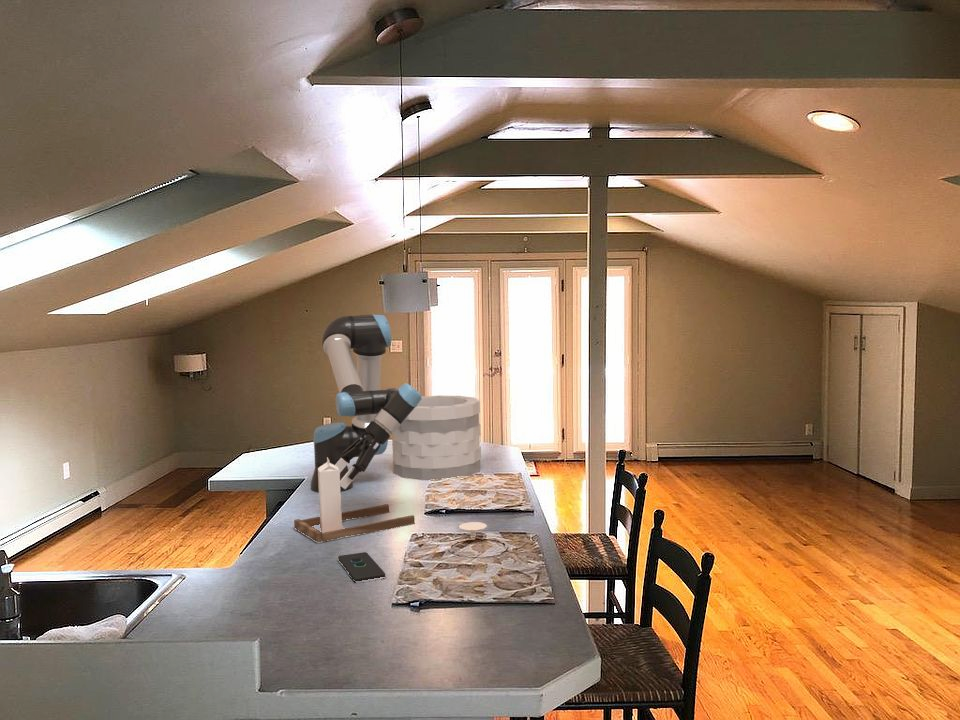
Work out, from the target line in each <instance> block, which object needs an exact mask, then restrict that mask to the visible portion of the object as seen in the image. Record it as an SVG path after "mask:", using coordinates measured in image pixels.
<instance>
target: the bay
mask: <svg viewBox="0 0 960 720" xmlns="http://www.w3.org/2000/svg"><path fill="white" fill-rule="evenodd" d="M386 513H387V514H388V513H390V504H388V503H386V504H385V503H384V504H379V505H374V506H369V507H363V508H359V509H353V510H348V511H343V512H342V511H341V515H342V520H346V519H352V518H357V519H360V518H359V517H362V518H366V517H365V516H367V517H371V516H376V515H382V514H383V515H384V514H386ZM415 519H416V518H415V515H414V514H411V515H407V516H406V515H405V516H401V517H396V518H391V519H386V520H380V521H376V522H371V523H367V524H366V523H365V524H361V525H356V526H352V527H348V528H345V529H340V530H335V531H330V532H325V533H322V532H320V531H319V530H317V529H315V528H314V527H312V526H314V525H319V524H320V516H315V517H311V518H310V517H309V518H305V519H299V518H297V519H293V525H294V526H293V527H294V528H296V529H297V530H299V531H300V532H302V533H304V534H305V535H307V536H309V537H310V538H312V539H313V540H315V541H317V542H321V541H327V540H331V539H337V538H340V537H345V536H351V535H357V534H363V533H367V534H371V533H370V532H372V533H376V532H375V531H377V532H381V531H380V530H382V531H387V530H390V529H391V528H392V529H396V527H397V528H401V527H400V526H402V527H406V526H412V525H415V524H416V523H415ZM352 520H353V519H352ZM346 521H347V520H346ZM386 529H387V530H386ZM392 529H391V530H392ZM300 532H299V533H300ZM305 535H304V536H305ZM363 535H364V534H363ZM313 540H312V541H313Z"/></svg>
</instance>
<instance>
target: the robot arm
mask: <svg viewBox="0 0 960 720" xmlns="http://www.w3.org/2000/svg"><path fill="white" fill-rule="evenodd" d="M390 327H391V326H390V323H389V321H388V318H387V317H386V316H385V315H382V314H374V313H371V314H360V315H359V314H357V315H355V314H354V315H340V316H339V317H338V316H337V317H336V318H334V319H333V320H331V321H330V322H329V323H328V324H327V326H326V327H325V328H324V330H323V333H322V336H321V346H322V349H323V352H324V354H326V355H327V356H328V359H329V362H330V366H331V369H332V372H333V376H334V379H335V383H336V385H337V390H338V393H337V394H336V396H335V407H336V408H335V409H336V413H337V415H338V416H339V417H350V418H351V417H353V418H352V419H351V425H346V423H345V422H343V421H342V422H341V421H340V422H339V421H338V422H331V423H325V424H323V425H319V426H318V427H316V428H315V429H314V431H313V447H314V448H313V450H314V451H313V452H314V470H313V474H312V477H311V481H310V489H311V490H312V491H313V492H318V493H319V484H318V468H319V467H320V466H322V465H323V464H325V463H326V462H327V457H328V459H329V463H331V464H333V465H335V466H337V467H338V469H339V470H340V482H339V483H338V484H339V485H340V491H341V492H342V491H346V490H347V491H348V490H350V489H352V488H353V487H354V479H356V478H357V476H358V475H359V474H360V473H361V472H363V473H364V472H365V471H366V470H367V468H368V466H369V465H370V464H371V461H372V459H373V458H374V457H375V456H378V455H379V456H380V455H382V454H383V453H385V451H386V450H387V447H388V443H389V439H390V438H391V435H392V434H393V433H394V431H395V430H398V429H399V428H398V427H399V426H400V424H401V423H402V422H403V421H404V420H405V419H406V417H407V416H408V415H409V414H410V413H411V412H412V410H413V409H414V408H415V407H417V405H418V403H419V402H420V401H421V399H422V394H421V393H420V392H419V391H418V390H417V389H415V388H414V387H413V386H412V385H410V384H409V383H407V382H405V383H403V384H401V386H400V387H399V388H395V387H393V388H386V389H381V381H382V379H381V378H382V376H381V375H382V357H383V356H385V354H386V352H387V351H386V349H387V348H389V347H391V345H392V333H391V328H390ZM351 350H352V352H353V354H354V355H355V356H357V357H356V358H357V359H356V364H355V361H354V358H353V357H354V356H353V354H352V352H351ZM354 458H357V460H356V462H355V463H353V464H352V466H351V467H350V468H349V466H348V465H349V464H350V463H351V460H352V459H354Z"/></svg>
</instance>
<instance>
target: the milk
mask: <svg viewBox="0 0 960 720" xmlns="http://www.w3.org/2000/svg"><path fill="white" fill-rule="evenodd" d="M339 482H340V470H339V469H338V467H337V466H335V465H333V464H331V463H329V459H328V457H327V462H326V463H325V464H323V465H322V466H320V467H319V468H318V484H319V492H318V500H319V502H318V503H319V517H320V528H321V531H322V533H325V532H330V531H335V530H340V529H342V524H343V521H342V515H341V513H342V498H341V497H342V496H341V495H342V494H341V492H342V491H340V485H339V484H338V483H339Z"/></svg>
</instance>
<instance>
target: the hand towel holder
mask: <svg viewBox="0 0 960 720" xmlns="http://www.w3.org/2000/svg"><path fill="white" fill-rule="evenodd" d="M458 527H459V529H460V530H461V531H464V532H469V533H470V537H471V536H475V535H476V536H477V532H481V531H483V530H485V529H486V528H487V527H488V525H487V524H486V523H483V522H481V521H469V522H464V523H463V522H462V523H461V524H460V525H459V526H458ZM492 537H493V538H497V539H501V538H499V537H496V536H495V537H494V536H492Z"/></svg>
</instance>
